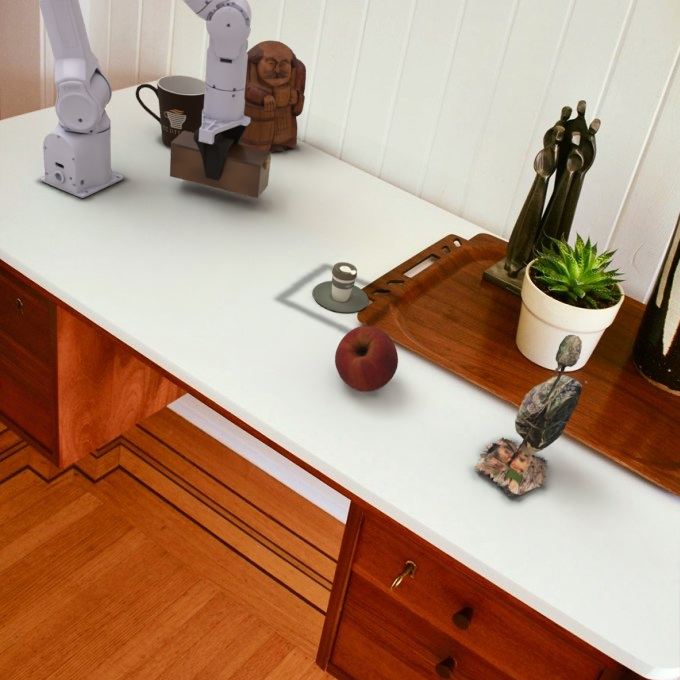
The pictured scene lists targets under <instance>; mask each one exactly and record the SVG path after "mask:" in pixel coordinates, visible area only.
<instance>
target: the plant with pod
mask: <svg viewBox="0 0 680 680" xmlns="http://www.w3.org/2000/svg"><path fill="white" fill-rule="evenodd" d="M582 344H583V341H582V340H581V338H580V336H578V335H575V334H568V335H566V336H564V337H563V339H562V340H561V342H560V343H559V346H558V349H557V352H556V354H555V361H556V363H557V366H556V367H555V370H554V372H553V376H552V377H551V378H548V379H546V380H545V381H543V382H542V383H540V384H536V385H535V386H533V387H532V389H530V391H528V392H527V393H526V394H525V395H524V397H523V399H522V401H521V404H520V406H519V407H518V410H517V414H516V418H515V419H514V427H515V432H516V433H517V434H518V435H519V436H520V438H522V441H521V443H520V444H519V446H518V445H517V444H516V442H515V441H513V440H510V439H508V438H505V437H501V438H499V439H497V440H496V441H495V442H490V443H489V444H488V445H485V448H484V450H483V452H484V453H480V454H479V456H480V459H478V462H477V463H476V465H474V468H475V470H476V472H477V473H478V472H479V474H484V475H485V476H488V475H489V479H490V480H491V479H492V478H493V479H492V481H493V482H495V483H497V484H496V486H498V487H500V488H501V489H503V491H504V493H506V494H507V496H509V497H515V498H516V497H520V496H521V495H524V494H526V493H527V492H530V491H531V490H533V489H537V488H541V486H542V485H544V483H545V481H546V479H547V477H546V471H547V470H548V468H547V467H548V461H549V460H546V459H545V458H544V457H541V456H537V455H535V454H537V453H539V452H541V451H542V450H544V449H546V448H548V447H550V446H551V445H552V444H553V443H554V442H555V441H557V440H558V439H559V438H560V437H561V436H562V434H563V432H564V431H565V429H566V426H567V425H568V423H569V422H570V419H571V417H572V415H573V413H574V412H575V410H576V408H577V407H578V405H579V400H580V396H581V395H582V390H583V384H581V382H580V381H578V379H577V378H573V377H572V376H569V375H565V374H564V372H565V370H566V368H567V367H569V368H572V367H574V366H575V365H577V363H578V362H579V361H578V360H579V359H581V358H580V356H581V353H582V347H583V345H582ZM559 370H560V371H559ZM558 372H559V373H558ZM557 374H558V375H557ZM584 383H585V384H586V385H587V384H588V383H589V382H588V381H587V380H585V381H584Z"/></svg>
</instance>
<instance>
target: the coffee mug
mask: <svg viewBox="0 0 680 680" xmlns="http://www.w3.org/2000/svg"><path fill="white" fill-rule="evenodd" d="M145 88H146V89H149V90H151V91H153V93H154V94H155V95H156V98H157V101H158V107H159V108H158V110H159V116H158V115H157V114H156V113H155V112H153V111H152V109H150V108H149V107H148V106H147V105H146V104H145V103H144V101H143V100H142V99H141V96H140V92H141V90H142V89H145ZM204 94H205V80H203V79H201V78H197V77H194V76H190V75H182V74H172V75H171V74H170V75H165V76H162V77H159V78H158V79H157V80H156V86H154V85H152V84H150V83H141V84H140V85H138V86H137V87H136V90H135V98H136V100H137V102H138V103H139V105H140V106H141V107H142V108H143V109H144V111H145V112H147V114H148V115H150V116H151V117H152V118H153V119H155V120H156V121H157V122H158V123H159V125H160V129H161V140H162V144H163V145H164V146H166V147H168V148H170V149H171V142H172V141H173V140H174V139H175V138H176V137H177V136H179V135H180V134H181V133H182V132H183V131H188V132H192V133H194V132H195V131H196V130H197V129H199V128H200V127H201V126H202V110H203V109H204Z"/></svg>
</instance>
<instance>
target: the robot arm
mask: <svg viewBox="0 0 680 680" xmlns="http://www.w3.org/2000/svg"><path fill="white" fill-rule="evenodd" d="M37 1H38V5H39V9H40V12H41V16H42V19H43V23H44V25H45V29H46V33H47V36H48V40H49V44H50V48H51V51H52V55H53V59H54V85H55V88H56V98H55V102H54V110H55V114H56V116H57V118H58V122H57V125H56V127H55V128H54V129H53V131H51V132H50V133H48V134H47V135H46V136H45V138H44V139H43V145H42V148H43V149H42V150H43V166H44V167H43V168H44V176H41V177H40V181H41V182H43V183H46V184H47V185H50V186H52V187H54V188H57V189H58V190H62V191H64V192H66V193H69V194H70V195H73V196H76V197H78V198H80V199H84V198H86V197H89V196H90V195H93V194H95V193H97V192H99V191H101V190H103V189H105V188H108V187H110V186H112V185H114V184H116V183H118V182H120V181H123V180H124V175H122V174H120V173H117V172H116V171H113V170H112V141H111V139H112V138H111V137H112V135H111V134H112V132H111V129H112V127H111V125H112V124H111V122H112V121H111V119H110V117H109V115H108V113H107V111H106V107H107V105H108V104H109V103H110V102H111V98H112V95H113V88H112V84H111V82H110V81H109V79H108V77H107V76H106V75H105V74H104V72H103V71H102V69H101V67H100V63H99V59H98V58H97V56H96V55H95V54H94V52H93V51H92V49H91V44H90V42H89V41H90V40H89V36H88V33H87V29H86V25H85V21H84V17H83V13H82V9H81V5H80V1H79V0H37ZM182 2H183V3H185V5H187V7H188V8H190V10H191V11H192V12H193V13H194V14H195V15H196V16H197V17H199V18H200V19H202V20H204V21H205V27H206V31H207V34H208V35H209V37H208V38H209V40H208V47H207V48H206V59H205V60H206V61H205V78H204V79H205V80H204V81H205V94H204V109H203V110H202V126H201V127H200V128H199V129H197V130H196V131H195V132H194V141H195V142H196V144H197V146H198V148H199V150H200V153H201V156H202V161H203V166H204V171H205V175H206V178H209V179H213V180H217V181H219V180H220V178H221V175H222V172H223V167H224V163H225V158H226V155H227V153H228V150H229V148H230V146H231V144H232V143H236V144H239V143H240V141H241V138H242V136H243V134H244V132H245V130H246V129H247V127H248V126H249V123H250V119H251V118H250V117H247V116H244V108H245V99H244V96H245V84H246V72H247V60H248V54H247V52H248V49H249V40H248V38H249V37H250V35H251V30H252V28H251V22H252V10H251V6H250V3H249V2H248V1H247V0H182Z"/></svg>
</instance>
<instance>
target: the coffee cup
mask: <svg viewBox="0 0 680 680" xmlns="http://www.w3.org/2000/svg"><path fill="white" fill-rule="evenodd" d="M331 274H332V276H331V280H328V281H323V282H321V283H318V284H317V285H316V286H314V288H313V290H312V297H313V298H314V300H315V301H316V302H317V303H318V304H319V305H320V306H321V307H322V308H325V309H326V310H329V311H331V312H334V313H341V314H352V313H357V312H360V311H362V310H364V309H365V308H366V307H367V306H368V304H369V297H368V295H367V293H366V291H364V290H363V289H362V288H361V287H358V286H357V285H355V283H356V278H357V277H358V269H357V267H356V266H355V265H354V264H353V263H349V262H343V261H341V262H336V263H334V265H333V266H332V270H331Z"/></svg>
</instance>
